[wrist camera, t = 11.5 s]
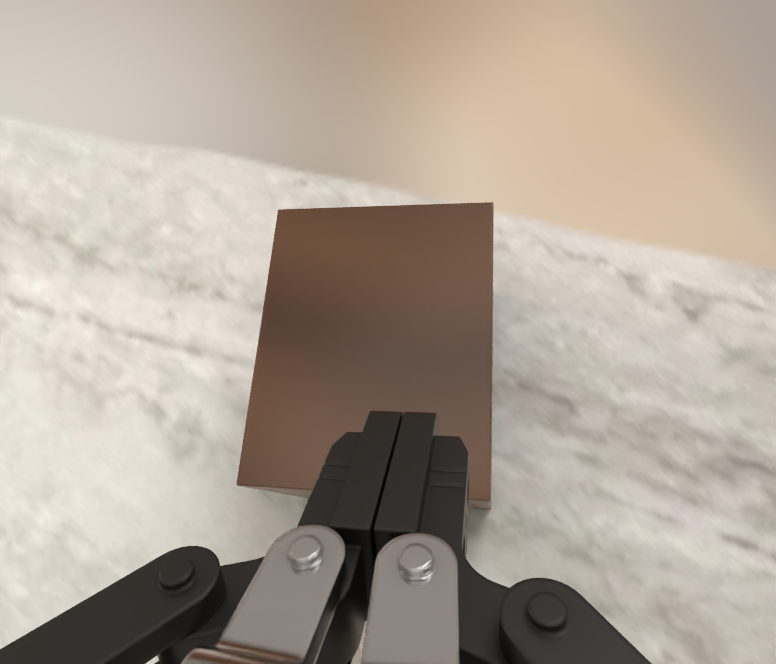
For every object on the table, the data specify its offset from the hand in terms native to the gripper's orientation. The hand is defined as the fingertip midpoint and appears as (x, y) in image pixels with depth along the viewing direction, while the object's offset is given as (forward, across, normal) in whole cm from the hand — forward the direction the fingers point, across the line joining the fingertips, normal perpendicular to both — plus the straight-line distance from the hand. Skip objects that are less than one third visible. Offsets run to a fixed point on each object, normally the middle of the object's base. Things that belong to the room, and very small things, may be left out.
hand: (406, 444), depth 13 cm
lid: (+12, +4, +4) cm, 13 cm away
